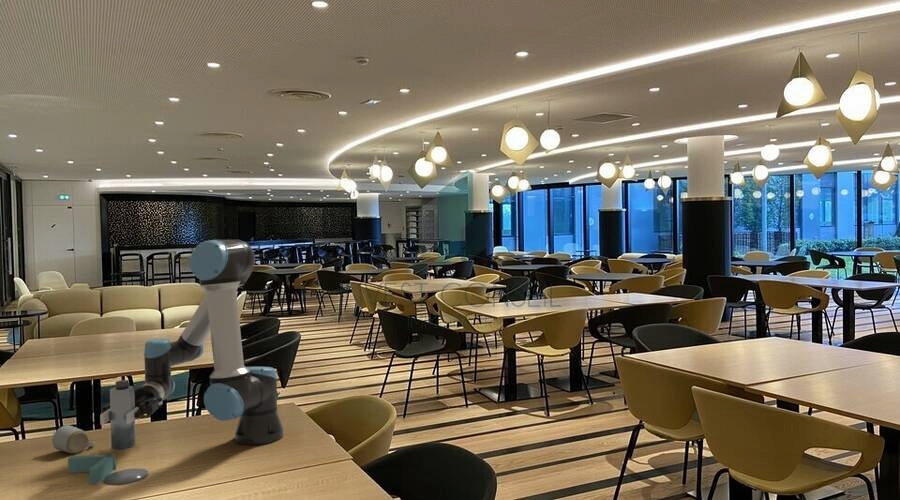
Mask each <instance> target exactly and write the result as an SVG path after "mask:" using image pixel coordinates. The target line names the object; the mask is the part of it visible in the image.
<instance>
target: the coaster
mask: <svg viewBox="0 0 900 500" xmlns="http://www.w3.org/2000/svg"><path fill="white" fill-rule="evenodd" d="M148 476H149V470H148V469H145V468H136V467H135V468H127V469H122V470H121V469H120V470H117V471H114V472H110V473H109V474H108V475H107V476H106V477H105V478H103V482H104V483H105V484H106V485H111V486H116V485H118V486H119V485H120V486H121V485H128V484H131V483H136V482H140V481H141V480H143V479H146V478H147V477H148Z"/></svg>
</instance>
